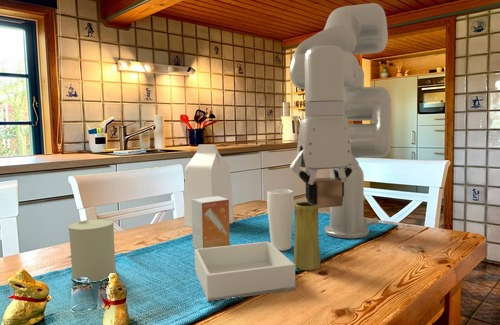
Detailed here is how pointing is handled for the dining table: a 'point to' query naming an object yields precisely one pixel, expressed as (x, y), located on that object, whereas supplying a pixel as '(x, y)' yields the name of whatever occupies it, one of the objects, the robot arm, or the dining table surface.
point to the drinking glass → (280, 217)
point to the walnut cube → (328, 192)
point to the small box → (210, 222)
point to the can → (92, 249)
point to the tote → (243, 270)
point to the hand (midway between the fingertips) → (324, 201)
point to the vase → (306, 237)
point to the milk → (206, 180)
